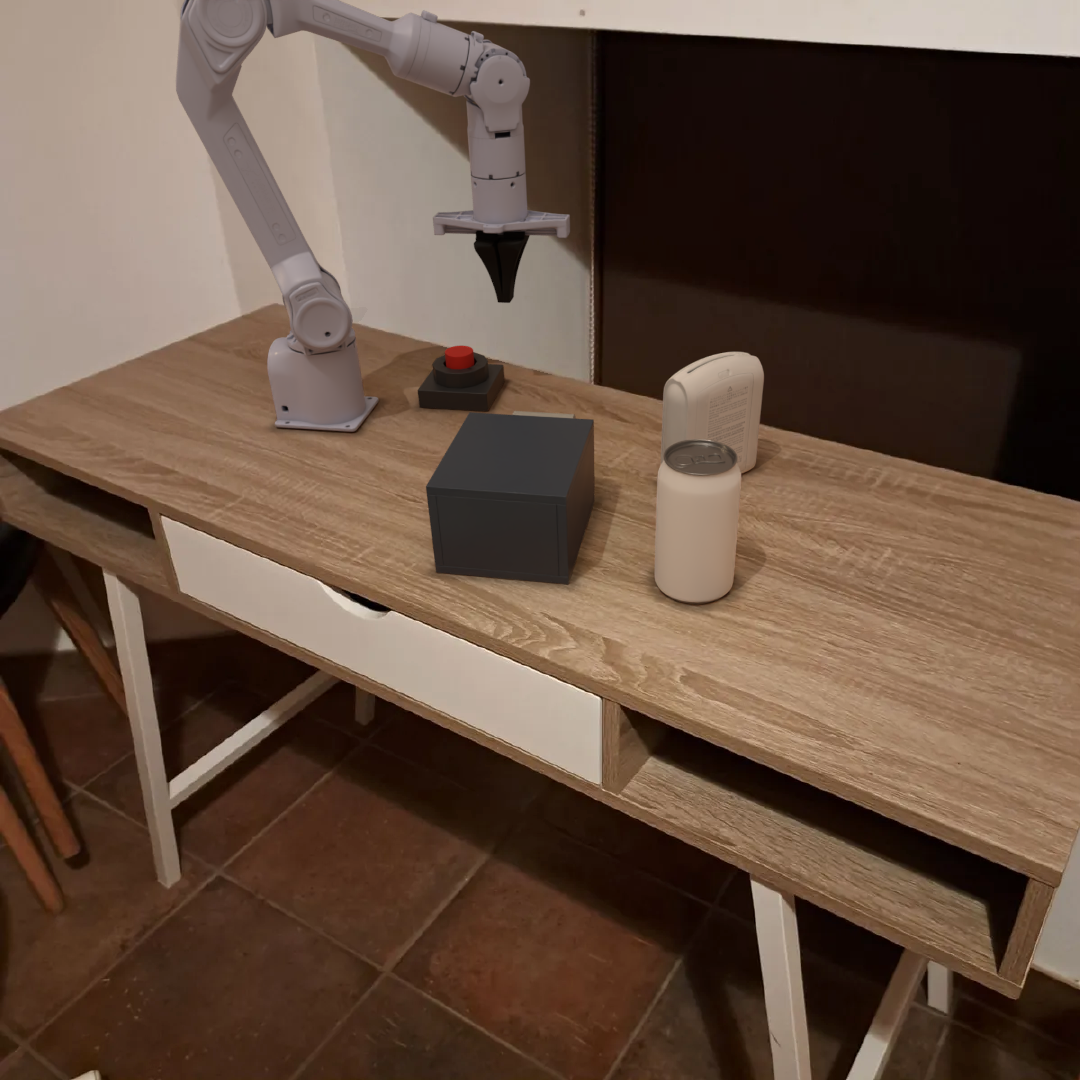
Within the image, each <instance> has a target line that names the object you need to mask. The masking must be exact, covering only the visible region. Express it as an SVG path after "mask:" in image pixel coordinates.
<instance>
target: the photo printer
mask: <svg viewBox="0 0 1080 1080" xmlns="http://www.w3.org/2000/svg"><path fill="white" fill-rule="evenodd" d="M764 383H765V373H764V368H763V365H762V363H761V361H760V359H759V357H757V356H755V355H751V354H750V353H749V352H744V351H727V352H722V353H716V354H712V355H709V356H706V357H703V358H700V359H698V360H696V361H694V362H692V363H690V364H688V365H686V366H684V367H683V368H681V369H679V370H678V371H676V372H675V373H674V374H673V375H671V377H670V378H668V379H667V381H666V382H665V384H664V386H663V393H662V394H663V395H662V415H661V416H662V418H661V440H660V441H661V443H660V465H661V464H662V462H663V461H664V452H665V450H666V449H667V448H668V447H669V446H671V445H673V444H675V443H677V442H680V441H684V440H691V439H706V440H713V441H717V442H720V443H723V444H725V445H727V446H729V447H731V448H732V449H733V450H734V451H735V452H736V454H737V457H738V459H737V464H738V467H739V469H740V472H741V475H742V474H744V473H746V472H748V471H750V470H752V469H754V467H755V466H756V464H757V457H758V445H759V436H760V435H759V433H760V423H761V411H762V402H763V391H764Z"/></svg>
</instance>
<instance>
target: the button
mask: <svg viewBox="0 0 1080 1080" xmlns="http://www.w3.org/2000/svg"><path fill="white" fill-rule="evenodd" d="M473 352H474V348H473V347H471V346H469V345H454V346H450V347H448V348H446V349H445V351H444V355H445V359H446V367H447V368H450V369H465V368H469V367H472V366H474V353H473Z"/></svg>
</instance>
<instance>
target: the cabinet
mask: <svg viewBox="0 0 1080 1080" xmlns="http://www.w3.org/2000/svg"><path fill="white" fill-rule="evenodd" d="M595 481H596V480H595V419H589V418H576V417H575V418H559V417H541V416H524V415H512V414H504V413H503V414H502V413H490V412H489V413H487V412H473V411H469V412H468V414H467V416H466V417H465V419H464V421H463V422H462V424H461V426H460V428H459V429H458V430H457V432H456V435H455V436H454V438H453V440H452V441H451V443H450V445H449V446H448V448H447V450H446V451H445V453H444V454H443V456H442V458H441V460H440V462H439V463H438V465H437V466H436V468H435V470H434V472H433V473H432V475H431V477H430V478H429V480H428V482H427V484H426V485H425V491H426V499H427V501H426V502H427V508H428V517H429V525H430V533H431V543H432V550H433V558H434V559H433V560H434V565H435V573H437V574H448V575H459V576H471V577H480V578H491V579H492V578H493V579H505V580H514V581H526V582H537V583H547V584H558V585H559V584H560V585H569V584H570V581H571V578H572V575H573V572H574V568H575V566H576V563H577V559H578V557H579V556H578V555H579V552H580V549H581V547H582V543H583V539H584V537H585V534H586V530H587V527H588V523H589V520H590V518H591V514H592V510H593V507H594V505H595V501H596V498H595V497H596V495H595V491H596V490H595V489H596V488H595V485H596V483H595Z"/></svg>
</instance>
